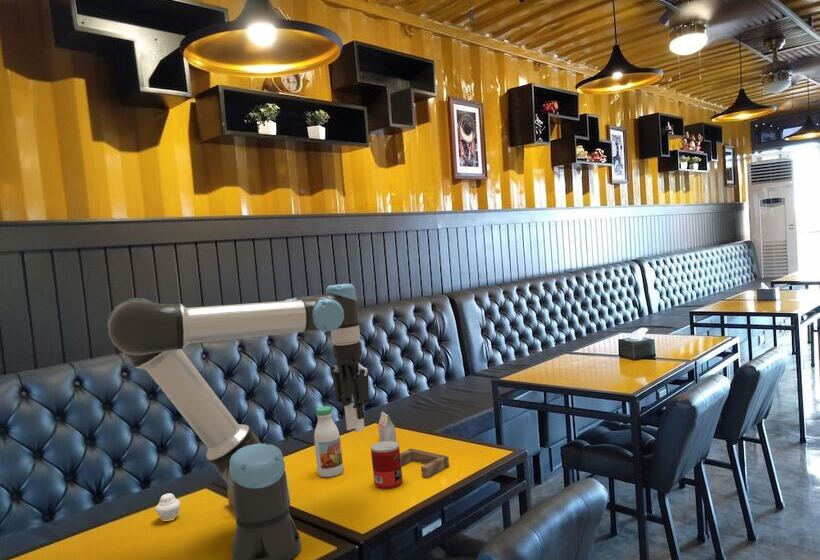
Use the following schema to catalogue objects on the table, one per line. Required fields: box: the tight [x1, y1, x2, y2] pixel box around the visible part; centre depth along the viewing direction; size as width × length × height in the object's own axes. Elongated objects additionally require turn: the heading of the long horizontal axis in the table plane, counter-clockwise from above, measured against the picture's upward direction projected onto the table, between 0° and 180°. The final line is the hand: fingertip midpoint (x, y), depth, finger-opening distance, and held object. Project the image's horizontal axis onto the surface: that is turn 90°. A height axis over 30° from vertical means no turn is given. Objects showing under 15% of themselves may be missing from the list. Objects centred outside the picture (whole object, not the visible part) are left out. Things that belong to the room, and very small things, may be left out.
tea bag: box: [377, 411, 397, 442], centre depth 200 cm, size 4×7×10 cm, turn 22°
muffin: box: [155, 492, 181, 521], centre depth 156 cm, size 6×6×7 cm
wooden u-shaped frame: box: [400, 448, 450, 479], centre depth 175 cm, size 10×15×3 cm, turn 48°
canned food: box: [370, 441, 403, 490], centre depth 165 cm, size 8×8×11 cm
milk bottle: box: [313, 405, 344, 478], centre depth 177 cm, size 8×8×20 cm
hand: (355, 429), depth 157 cm, fingers open, 3 cm apart
